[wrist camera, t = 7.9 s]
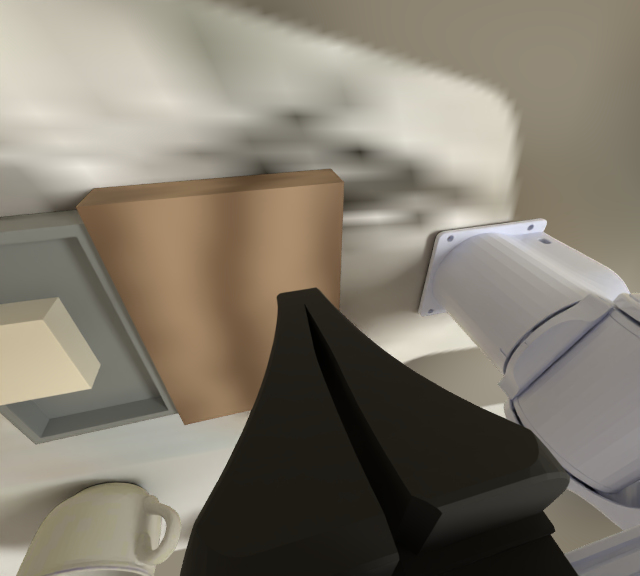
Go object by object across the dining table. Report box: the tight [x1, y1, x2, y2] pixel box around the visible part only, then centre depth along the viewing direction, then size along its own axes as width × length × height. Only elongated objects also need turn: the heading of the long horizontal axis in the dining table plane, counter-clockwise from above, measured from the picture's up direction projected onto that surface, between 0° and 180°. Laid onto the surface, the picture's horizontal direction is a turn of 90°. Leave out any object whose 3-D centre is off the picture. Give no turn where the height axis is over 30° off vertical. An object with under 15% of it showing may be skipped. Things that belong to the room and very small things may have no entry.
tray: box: [0, 210, 178, 444], centre depth 19 cm, size 10×16×2 cm, turn 1°
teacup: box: [16, 482, 181, 576], centre depth 29 cm, size 14×11×8 cm
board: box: [76, 169, 344, 425], centre depth 21 cm, size 12×18×2 cm
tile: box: [0, 297, 101, 405], centre depth 19 cm, size 5×6×2 cm
